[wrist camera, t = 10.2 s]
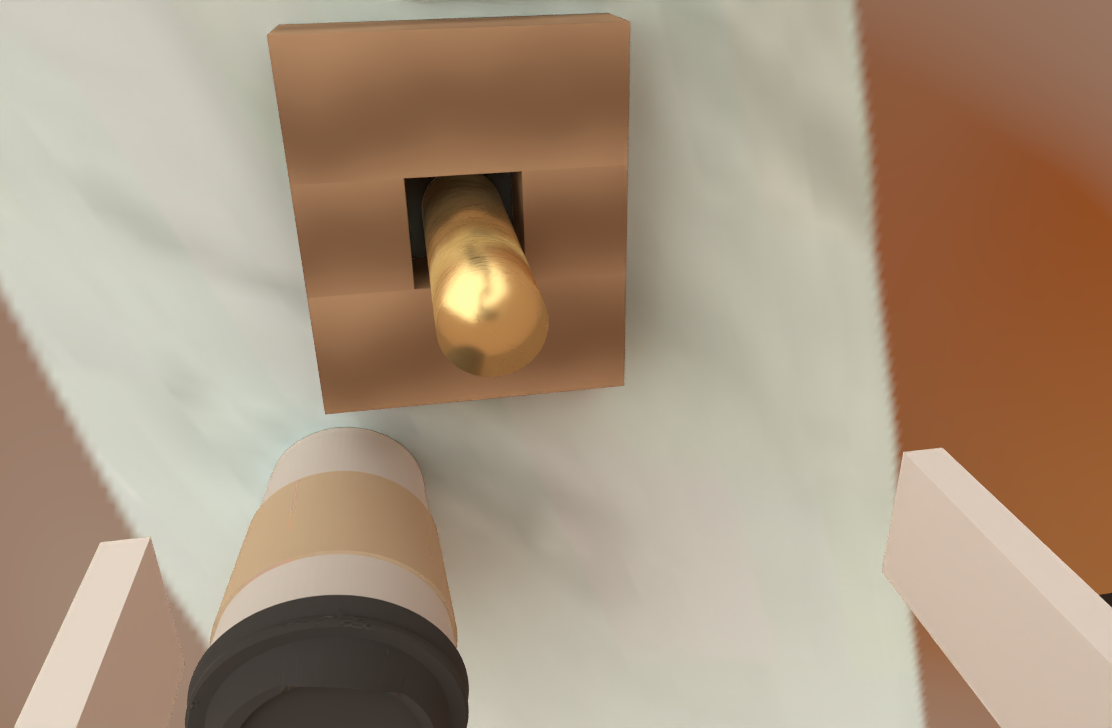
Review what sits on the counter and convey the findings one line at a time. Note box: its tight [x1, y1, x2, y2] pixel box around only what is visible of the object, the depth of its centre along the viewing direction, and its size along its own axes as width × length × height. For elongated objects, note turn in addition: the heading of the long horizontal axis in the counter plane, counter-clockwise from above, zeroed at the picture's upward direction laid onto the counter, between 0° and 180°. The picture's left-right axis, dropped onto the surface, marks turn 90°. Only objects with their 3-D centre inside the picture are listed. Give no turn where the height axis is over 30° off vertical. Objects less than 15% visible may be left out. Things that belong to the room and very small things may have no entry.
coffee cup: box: [185, 427, 469, 728], centre depth 34 cm, size 9×9×15 cm
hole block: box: [267, 13, 630, 414], centre depth 34 cm, size 14×12×4 cm
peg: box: [422, 174, 549, 377], centre depth 30 cm, size 3×3×12 cm
